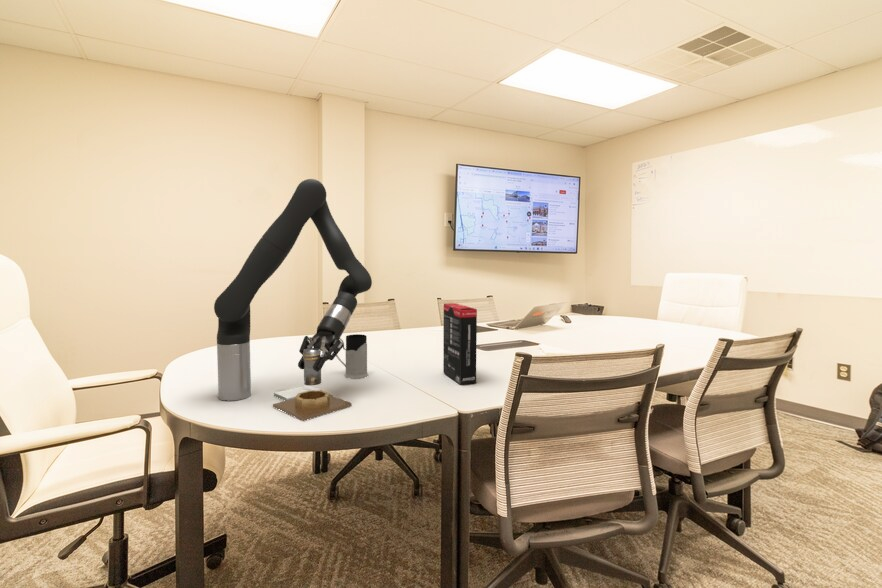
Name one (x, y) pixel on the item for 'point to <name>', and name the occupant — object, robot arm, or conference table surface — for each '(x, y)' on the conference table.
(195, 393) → the conference table surface
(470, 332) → the graphics card box
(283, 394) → the external hard drive
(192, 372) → the conference table surface
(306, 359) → the cylinder
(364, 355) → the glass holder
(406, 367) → the conference table surface
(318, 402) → the octagon frame base plate
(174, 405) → the conference table surface
